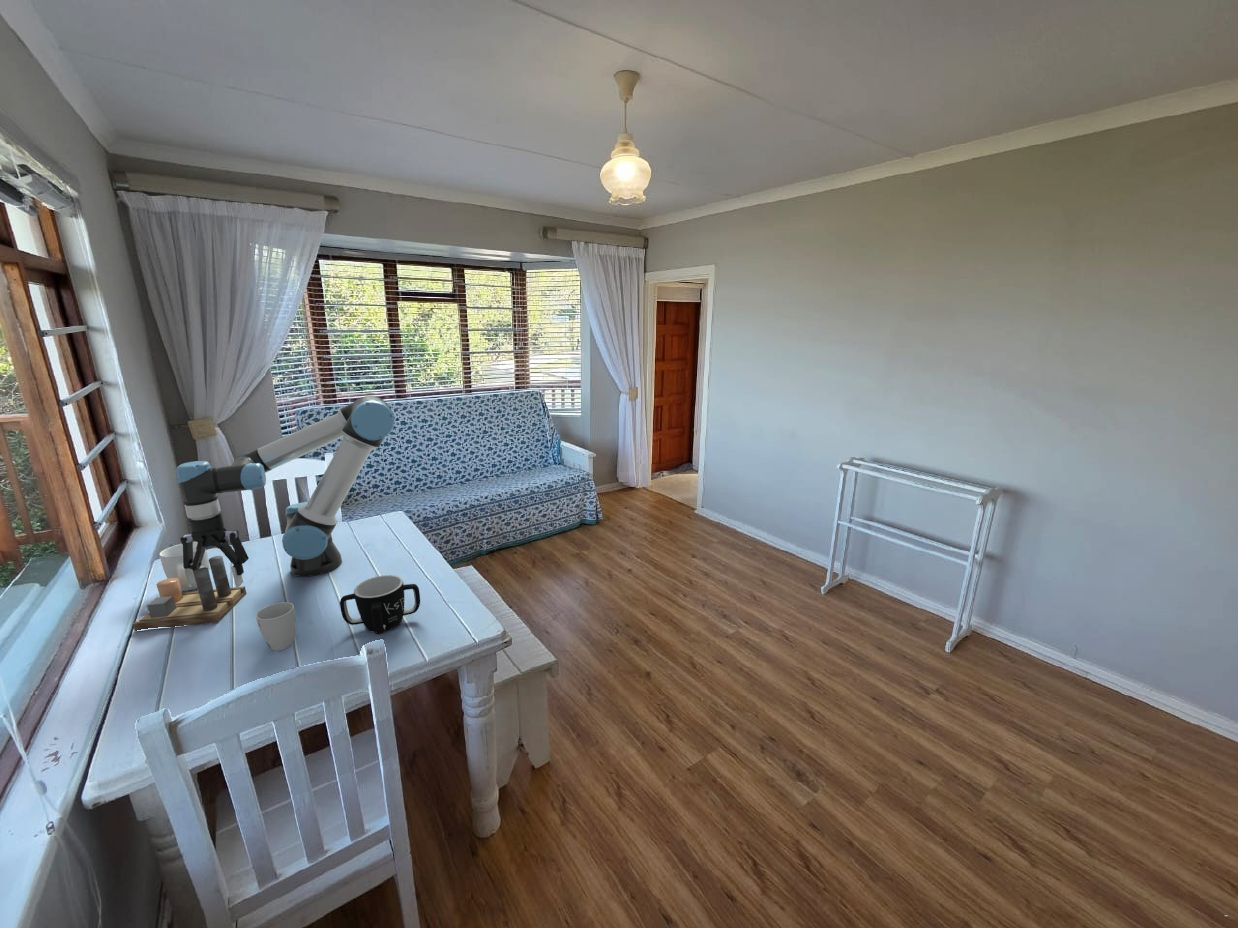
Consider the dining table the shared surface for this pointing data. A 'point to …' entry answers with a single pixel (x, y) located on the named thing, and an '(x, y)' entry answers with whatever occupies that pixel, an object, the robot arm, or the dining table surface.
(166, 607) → the rubber block
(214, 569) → the strip
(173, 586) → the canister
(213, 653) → the dining table surface
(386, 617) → the mug
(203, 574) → the strip
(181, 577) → the mug
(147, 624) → the lane board
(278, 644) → the cup
